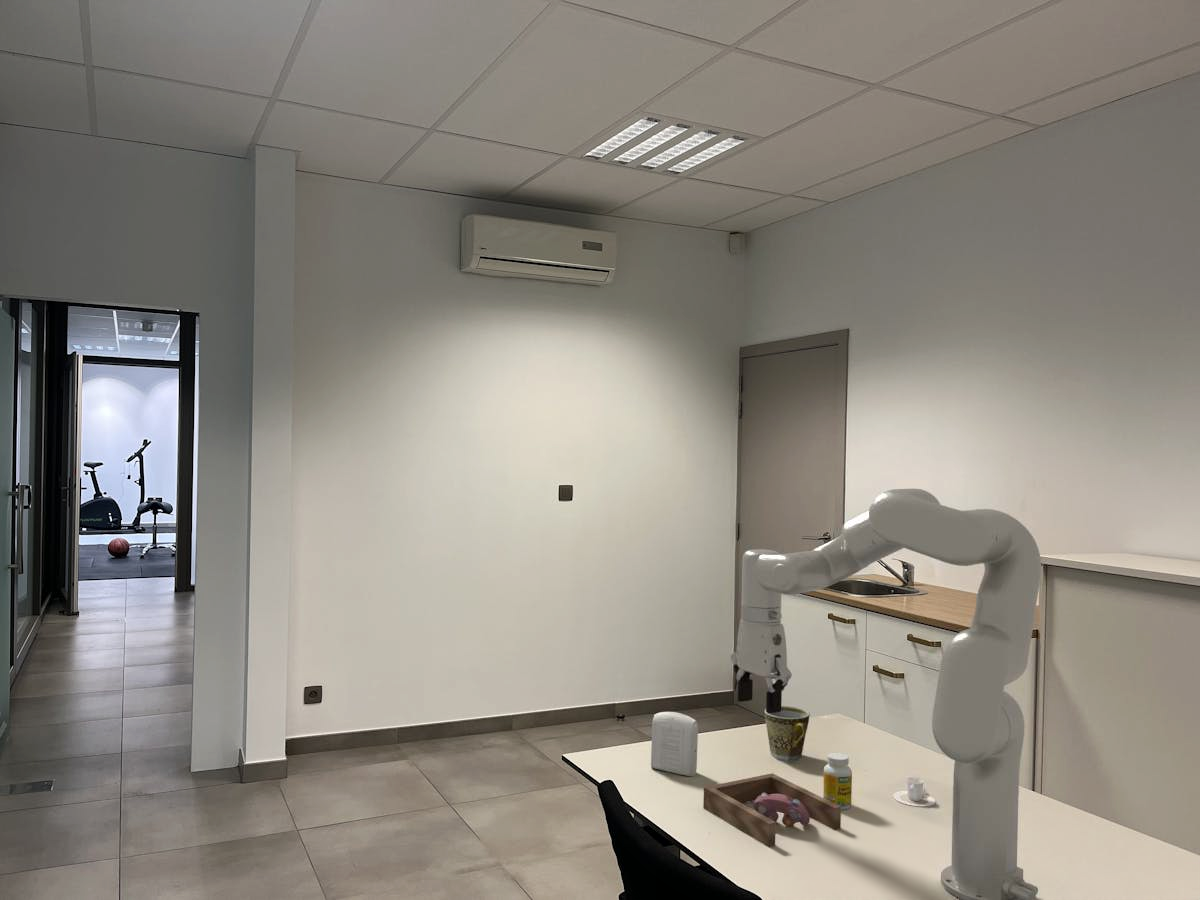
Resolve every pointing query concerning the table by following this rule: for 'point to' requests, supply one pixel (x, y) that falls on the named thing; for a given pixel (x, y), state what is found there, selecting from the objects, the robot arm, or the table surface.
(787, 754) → the ceramic cup
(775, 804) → the video game controller
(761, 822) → the frame
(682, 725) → the photo printer
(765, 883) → the table surface
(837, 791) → the supplement bottle
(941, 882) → the robot arm
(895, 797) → the teacup and saucer
